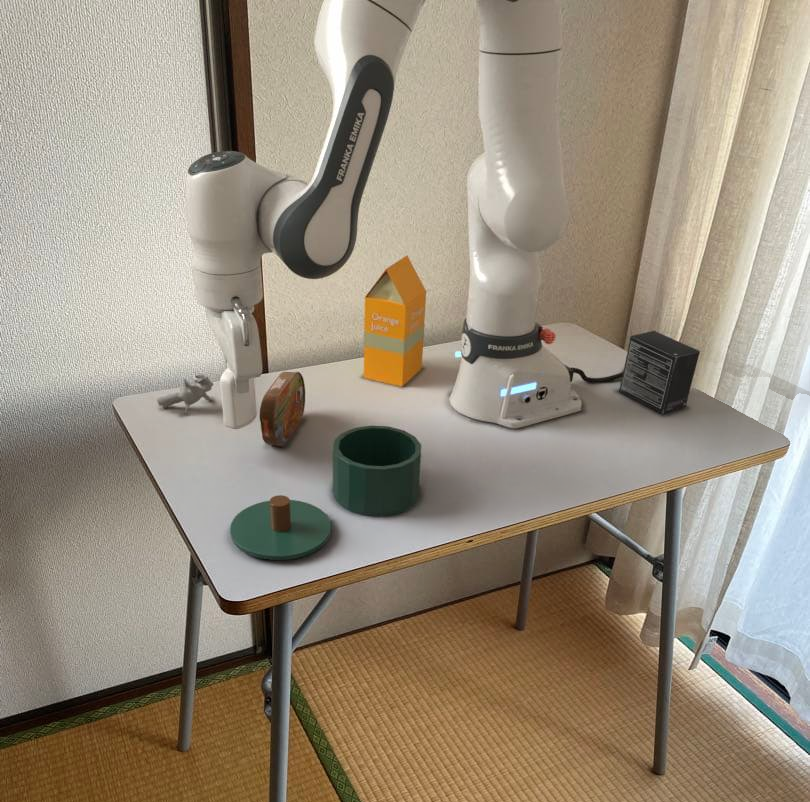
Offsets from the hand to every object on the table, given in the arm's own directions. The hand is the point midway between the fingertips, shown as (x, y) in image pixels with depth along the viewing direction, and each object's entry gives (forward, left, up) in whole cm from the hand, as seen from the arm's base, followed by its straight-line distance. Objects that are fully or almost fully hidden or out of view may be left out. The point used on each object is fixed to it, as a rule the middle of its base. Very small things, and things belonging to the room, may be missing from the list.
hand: (237, 381), depth 123 cm
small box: (-72, +1, -12) cm, 73 cm away
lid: (0, +22, -11) cm, 25 cm away
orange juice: (-32, -21, -12) cm, 40 cm away
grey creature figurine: (+5, -16, -12) cm, 21 cm away
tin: (-8, -5, -12) cm, 15 cm away
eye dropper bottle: (0, 0, -7) cm, 6 cm away
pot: (-16, +16, -12) cm, 25 cm away
